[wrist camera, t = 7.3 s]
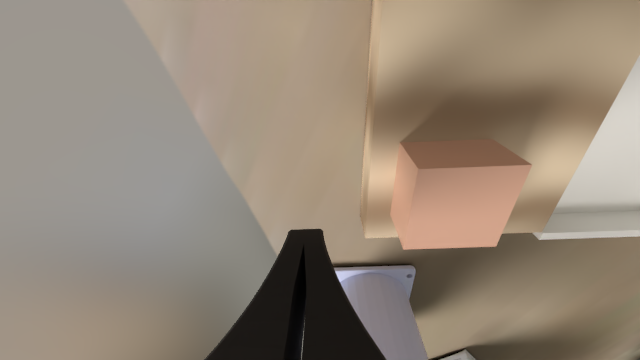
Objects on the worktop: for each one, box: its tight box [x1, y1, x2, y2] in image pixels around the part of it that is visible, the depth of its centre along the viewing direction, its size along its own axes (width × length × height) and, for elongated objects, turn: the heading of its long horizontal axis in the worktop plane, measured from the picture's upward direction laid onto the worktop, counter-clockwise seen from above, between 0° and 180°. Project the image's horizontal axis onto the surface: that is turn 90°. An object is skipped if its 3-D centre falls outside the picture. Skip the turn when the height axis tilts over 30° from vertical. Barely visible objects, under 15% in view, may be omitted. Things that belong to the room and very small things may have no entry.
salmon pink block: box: [390, 139, 532, 250], centre depth 14 cm, size 5×5×3 cm
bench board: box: [360, 0, 640, 238], centre depth 14 cm, size 16×12×2 cm
